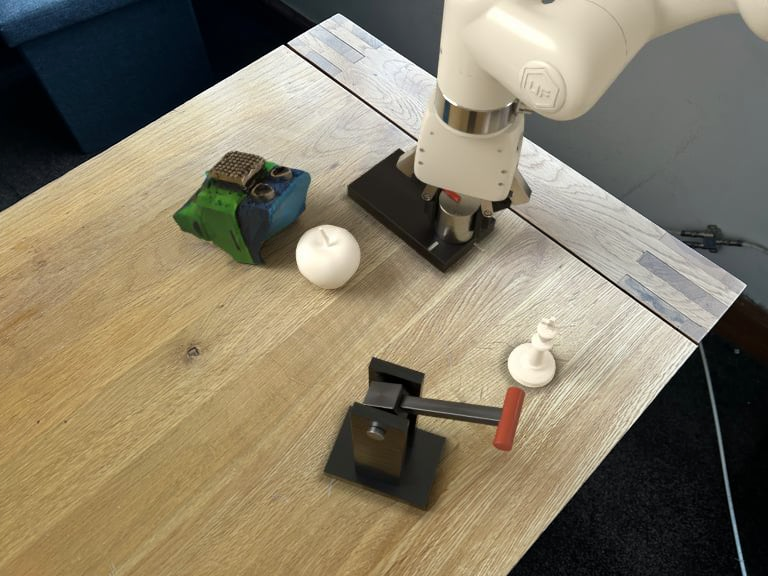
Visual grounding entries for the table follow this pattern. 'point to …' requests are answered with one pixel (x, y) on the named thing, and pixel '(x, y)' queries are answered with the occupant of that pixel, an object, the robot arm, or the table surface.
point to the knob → (456, 216)
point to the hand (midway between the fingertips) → (456, 221)
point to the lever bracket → (387, 445)
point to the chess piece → (535, 356)
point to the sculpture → (244, 204)
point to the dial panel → (407, 212)
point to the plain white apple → (328, 256)
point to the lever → (451, 409)
